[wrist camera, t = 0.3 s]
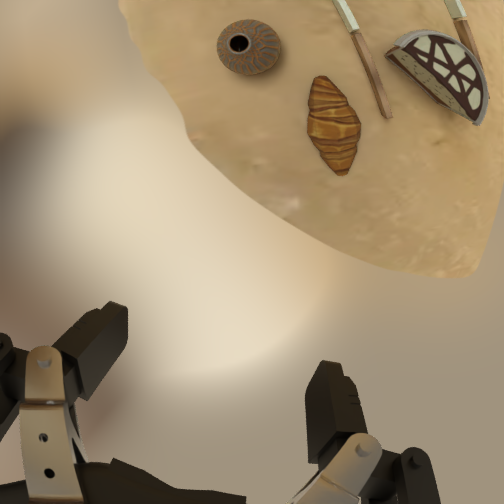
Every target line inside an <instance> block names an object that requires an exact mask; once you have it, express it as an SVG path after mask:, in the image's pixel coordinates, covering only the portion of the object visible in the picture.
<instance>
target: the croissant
mask: <svg viewBox="0 0 504 504" xmlns="http://www.w3.org/2000/svg"><path fill="white" fill-rule="evenodd" d="M308 106H309V109H310V112H309V115H308V130H307V133H308V135H309V136H310V138H311V140H312V142H313V143H314V145H315V146H316V147H317V148H318V149H319V150H320V154H321V157H322V158H323V160H324V161H325V162H326V163H327V165H328V166H329V167H330V168H331V169H332V170H333V171H334V172H335V173H336V174H337V175H339V176H343V175H346V174H347V173H348V171H349V168H350V166H351V164H352V162H353V159H354V157H355V155H356V152H357V146H356V144H357V142H358V140H359V138H360V130H361V123H360V121H359V119H358V117H357V115H356V113H355V111H354V110H353V109H352V108H351V107H350V106H349V105H348V102H347V98H346V97H345V96H344V94H343V93H342V92H341V91H340V90H339V89H338V88H337V87H336V86H335V85H334V84H333V83H332V82H331V81H330V80H329V79H328V78H327V77H326V76H318V77H316V78H314V81H313V84H312V87H311V91H310V96H309V101H308Z"/></svg>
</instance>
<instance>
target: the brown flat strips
mask: <svg viewBox="0 0 504 504" xmlns="http://www.w3.org/2000/svg"><path fill="white" fill-rule="evenodd" d="M454 24H455V27H456V29H457V32H458V34H459V37H460V40H461V43H462V44H463V45H464V46H465V47H466V48H467V49H468V50H469V51H470V52H471V53H472V54H473V55H474V56H475V58H476V59H477V61H478V62H479V64H480V66H481V68H482V70H483V67H482V64H481V60H480V57H479V54H478V51H477V47H476V44H475V41H474V39H473V36H472V33H471V30H470V28H469V25H468V23H467V20H461V21H455V22H454ZM351 38H352V40H353V42H354V44H355V46H356V48H357V51H358V53H359V55H360V58H361V60H362V62H363V65H364V67H365V70H366V72H367V75H368V77H369V80H370V82H371V85H372V88H373V90H374V93H375V96H376V99H377V102H378V105H379V108H380V111H381V114H382V115H383V116H384V117H385V118H387V119H388V118H392V117H393V116H392V112H391V109H390V106H389V103H388V100H387V97H386V94H385V91H384V88H383V85H382V83H381V80H380V77H379V75H378V72H377V69H376V67H375V64H374V62H373V60H372V57H371V55H370V52H369V50H368V48H367V45H366V43H365V41H364V39H363V37H362V35H361V33H357V34H354V35H352V36H351ZM483 72H484V71H483ZM488 98H489V99H490V97H489V92H488Z"/></svg>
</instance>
